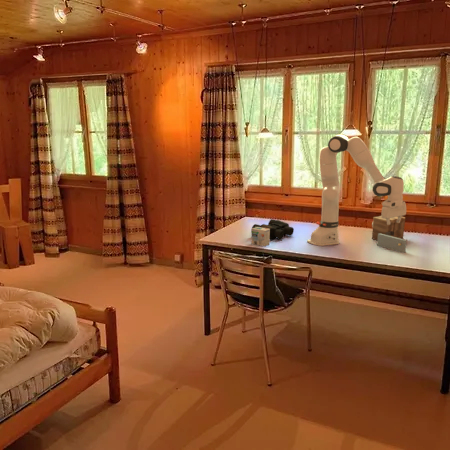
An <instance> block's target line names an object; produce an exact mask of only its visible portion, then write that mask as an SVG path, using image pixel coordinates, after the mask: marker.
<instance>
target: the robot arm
mask: <svg viewBox="0 0 450 450" xmlns="http://www.w3.org/2000/svg"><path fill="white" fill-rule="evenodd" d="M341 152H348V153H349V154H350V156H351V158H352V160H353V161H354V163H355V164H356V165H357V166H358V167H360V168H362V169H364V170H365V171H366V172H367V173H368V174H369V176H370V177H371V179H372V181H373V182H374V184H373V186H372V192H373V194H374V195H375V196H376V197H386V196H387V199H385V200H384V201H382V202H381V205H382V207H381V215H380V216H382V218H386V221H387V225H390V224H391V222H390V218H392V217H397V216H398V219H397V220H396V222H397V223H400V220H401V218H402V217H404V216H406V214H407V205H406V202H405V200H403V199H404V196H403V194H404V188H405V187H404V185H405V184H404V179H403V178H402V177H400V176H397V175H391V176H390V177H388V178H386V177H385V176H383V174H382V173H381V171H380V170H379V168H378V166H377V164H376V163H375V161H374V158H373V156H372V154H371V151H370V149H369V147H368V146H367V144H366V143H365V142H364V141H363V140H362V138H361V137H358V136H353V137H351V138H350V137H349V136H347V135H346V134H343V133H340V134H336V135H334V136H332V137H330V138H329V140H328V141H327V146H324V147H322V148H321V149H320V151H319V169H320V178H321V183H322V191H321V219H320V221H316V222H315V223H316V225H318V226H317V228H315V230H313V232H311V235H310V239H307V241H306V242H307V243H308V244H311V245H314V246H319V247H322V246H332V245H339V244H340V238H339V209H340V207H339V206H340V205H339V204H340V201H339V200H340V193H341V187H340V180H339V179H340V178H339V171H338V170H339V169H338V161H337V156H338V153H341Z"/></svg>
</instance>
